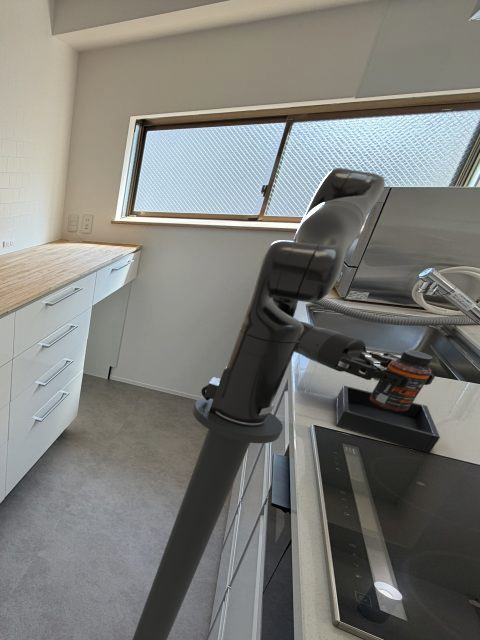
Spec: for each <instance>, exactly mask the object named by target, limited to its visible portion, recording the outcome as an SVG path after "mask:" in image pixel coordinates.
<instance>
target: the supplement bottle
mask: <svg viewBox="0 0 480 640" xmlns="http://www.w3.org/2000/svg"><path fill="white" fill-rule="evenodd" d="M432 361H433V356H432V355H430V354H427V353H425V352H421V351H417V350H409V349H408V350H407V349H406V350H404V351H403V352H402V353H401V355H400V358H399V359H396V360H393V361H391V362H390V363H389V365H388V367H385V368H386V369H387V370H391V371H394V372H396V373H399V374H402V375H404V376H407V377H410V378H411V381H410V383H409V385H408V386H407V387H406V388H399V387H397V386H394V385H392V384H389V383H387V382H384V381H382V379H381V381H378V382H377V384H376V385H375V387H374V389H373V391H371V392H372V394H371V396H370V400H371V401H372V402H373V403H374V404H376V405H377V406H379V407H382V408H385V409H388V410H392V411H407V410H408V408H409V407H410V406H411V404H412V403H414V402H415V400H416V398H417V397H418V395H419V394H420V392H421V391H422V389H423V387H424V386H425V385H424V384H425V383H426V381H427V379H428V378H429V376H430V374H432V369H431V368H430V367H429V365H430V364H431V362H432ZM387 370H386V371H387Z"/></svg>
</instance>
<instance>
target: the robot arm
mask: <svg viewBox="0 0 480 640" xmlns="http://www.w3.org/2000/svg"><path fill="white" fill-rule="evenodd" d="M385 186H386V180H385V178H384V176H382V175H380V174H378V173H373V172H367V171H361V170H356V169H349V168H343V167H336V168H334V169H332V170H331V171H329V172H328V173H327V174H326V176H325V177H324V178H323V179H322V181H321V183H320V184H319V186H318V188H317V189H316V191H315V193H314V195H313V197H312V198H311V201H310V203H309V205H308V207H307V209H306V212H305V214H304V215H303V218H302V220H301V222H300V224H299V226H298V228H297V231H296V233H295V235H294V238H293V240H276V241H274V242H272V243H271V244H270V245H269V247H268V248H267V249H266V251H265V253H264V254H263V257H262V259H261V261H260V265H259V268H258V270H257V273H256V276H255V281H254V284H253V288H252V292H251V295H250V298H249V301H248V304H247V307H246V310H245V313H244V315H243V319H242V321H241V324H240V327H239V329H238V332H237V336H236V338H235V341H234V344H233V347H232V350H231V352H230V355H229V358H228V359H227V360H228V361H227V363H226V366H225V368H224V369H223V371H222V374H221V376H220V378H219V377H217V376H216V377H215V376H213V377H212V378H211V380H209V382H208V384H207V385H205V386H203V387H202V388H201V391H200V393H201V395H202V398H203V397H204V398H205V399H206V400H210V398H211V399H213V402H212V405H211V408H210V410H209V412H210V413H213V414H216V415H217V416H218V417H220V418H222V419H224V420H226V421H228V422H231V423H234V424H237V425H242V426H248V427H258V426H261V425H263V424H264V423H265V421H266V417H267V415H268V413H272V412H273V410H274V408H275V405H273V403H274V400H275V398H276V396H277V394H278V391H279V389H280V386H281V384H282V382H283V379H284V378H285V375H286V373H287V370H288V367H289V366H290V363H291V361H292V358H293V356H294V354H295V353H296V354H299V355H301V356H303V357H304V358H306V359H308V360H310V361H313V362H315V363H318V364H320V365H322V366H324V367H327V368H329V369H332V370H334V371H337V372H341V373H342V372H344V373H346V374H350V375H352V376H356V377H358V378H361V379H364V380H366V381H371V380H372V379H373V380H374V381H378V382H379V381H381V379H382V381H384V382H387V383H389V384H392V385H394V386H397V387H399V388H406V387H407V386H408V385H409V383H410V381H411V378H410V377H407V376H404V375H402V374H399V373H396V372H394V371H391V370H387V369H386V368H387V367H388V365H389V363H390V362H391V361H393V360H396V359H399V358H401V356H400V357H399V356H398V355H395V354H392V353H390V352H384V353H383V354H382V353H380V352H378V351H377V352H376V351H367V348H366V347H367V346H366V342H365V341H364V340H363V339H359V338H356V337H354V336H350V335H347V334H345V333H342V332H339V331H336V330H333V329H329V328H324V327H320V326H317V325H314V324H311V323H308V322H306V321H301V320H298V319H296V318H295V317H294V316H295V314H296V311H297V308H298V304H299V302H305V303H306V302H307V303H308V302H309V303H311V302H313V303H314V302H318V301H321V300H322V299H324V298H325V297H326V296H327V295H328V294H329V293H330V292H331V291H332V289H333V288H334V286H335V285H336V283H337V281H338V280H339V278H340V275H341V272H342V270H343V267H344V264H345V261H346V258H347V255H348V252H349V251H350V249H351V247H352V246H353V244H354V243H355V241H356V239H358V236H359V234H360V232H361V230H362V229H363V226H364V223H365V221H366V219H367V216H368V215H369V214H370V212H371V211H372V210H373V208H374V207H375V206H376V205H377V203H378V201H379V200H380V198H381V196H382V194H383V193H384V189H385ZM386 370H387V371H386ZM435 376H436V375H435V374H433V373H431V374H430V376H429V378H428V379H427V381H426V383H425V384H424V386H430V385H431V384H432V382H433V381H434V379H435V378H436V377H435Z"/></svg>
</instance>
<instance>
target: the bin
mask: <svg viewBox="0 0 480 640" xmlns="http://www.w3.org/2000/svg"><path fill="white" fill-rule="evenodd" d="M372 392H373V391H368V390H363V389H360V388H357V387H351V386H347V385H345V384H343V385H342V387H341V389H340V391H339V392H338V394H337V396H336V402H335V403H336V404H335V405H336V407H335V408H336V409H335V411H336V412H335V413H336V414H335V426H336V427H339V428H341V429H345V430H349V431H351V432H352V431H353V432H356V433H360V434H363V435H366V436H370V437H373V438H377V439H379V440H380V439H381V440H384V441H387V442H390V443H393V444H396V445H400V446H404V447H408V448H411V449H414V450H417V451H421V452H425V453H428V454H430V453H431V452H432V450H433V449H434V447H435V446H436V444H437V443H438V442H439V440H440V438H441V436H440V433H439V431H438V429H437V427H436V425H435V422H434V420H433V417H432V415H431V412H430V410H429V407H428V405H425V404H421V403H418V402H417V403H416V402H413V403H412V404H411V406H410V407H409V408H408V410H407V411H392V410H388V409H385V408H382V407H379V406H377V405H376V404H374V403H373V402H372V401H371V400H370V396H371V394H372Z"/></svg>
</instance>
